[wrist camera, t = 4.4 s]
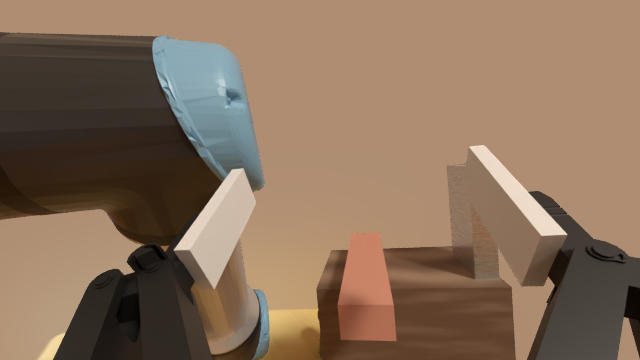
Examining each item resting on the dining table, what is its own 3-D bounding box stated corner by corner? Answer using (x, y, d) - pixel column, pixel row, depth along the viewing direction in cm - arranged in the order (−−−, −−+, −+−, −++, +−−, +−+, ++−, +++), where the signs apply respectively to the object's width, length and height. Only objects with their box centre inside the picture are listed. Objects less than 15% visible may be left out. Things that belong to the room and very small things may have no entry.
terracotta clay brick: (396, 341, 21) (393, 304, 21) (340, 339, 22) (337, 304, 22) (381, 250, 43) (379, 232, 43) (353, 251, 44) (351, 233, 43)
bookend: (499, 279, 30) (492, 164, 29) (475, 279, 30) (468, 166, 30) (471, 254, 38) (465, 163, 37) (452, 255, 38) (446, 165, 37)
